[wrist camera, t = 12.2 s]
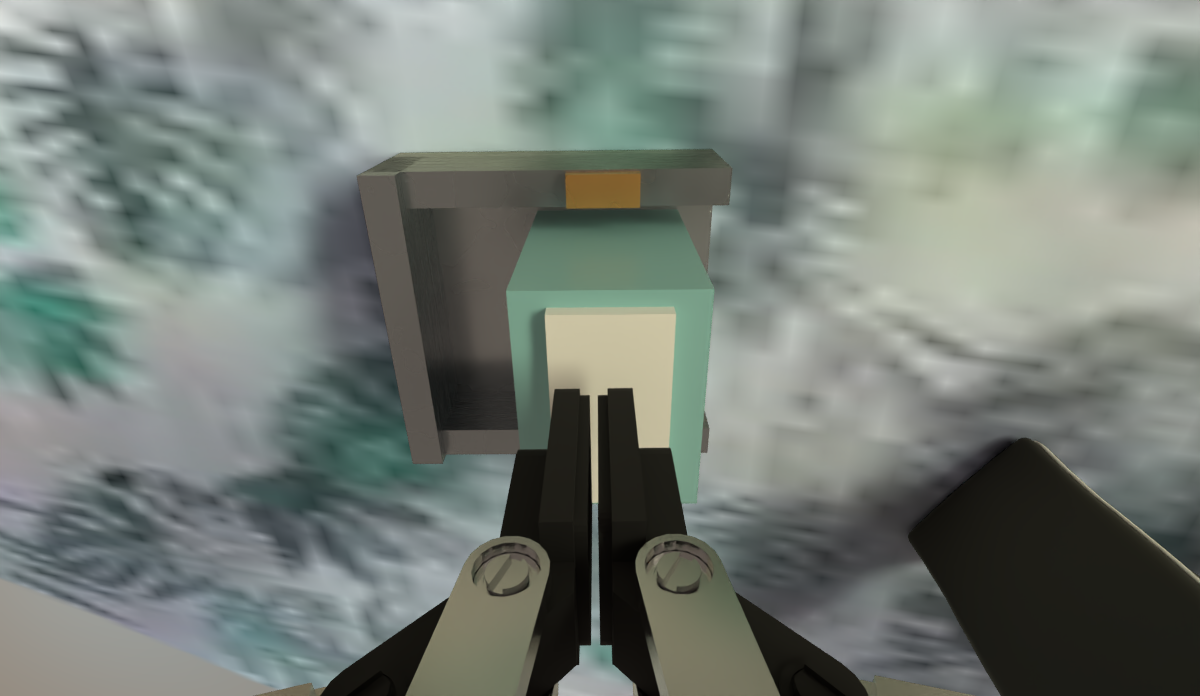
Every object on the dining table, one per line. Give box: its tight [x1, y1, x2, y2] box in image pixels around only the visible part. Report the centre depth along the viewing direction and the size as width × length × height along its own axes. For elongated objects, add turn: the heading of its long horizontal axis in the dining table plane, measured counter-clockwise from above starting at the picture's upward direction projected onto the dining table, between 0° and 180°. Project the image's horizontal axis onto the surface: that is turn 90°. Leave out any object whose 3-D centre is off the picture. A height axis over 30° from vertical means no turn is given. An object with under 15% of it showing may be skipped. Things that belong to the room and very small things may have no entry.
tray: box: [357, 149, 732, 464], centre depth 19 cm, size 10×10×4 cm
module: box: [506, 209, 714, 504], centre depth 17 cm, size 4×6×7 cm
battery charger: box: [908, 438, 1200, 696], centre depth 20 cm, size 7×4×11 cm, turn 148°
